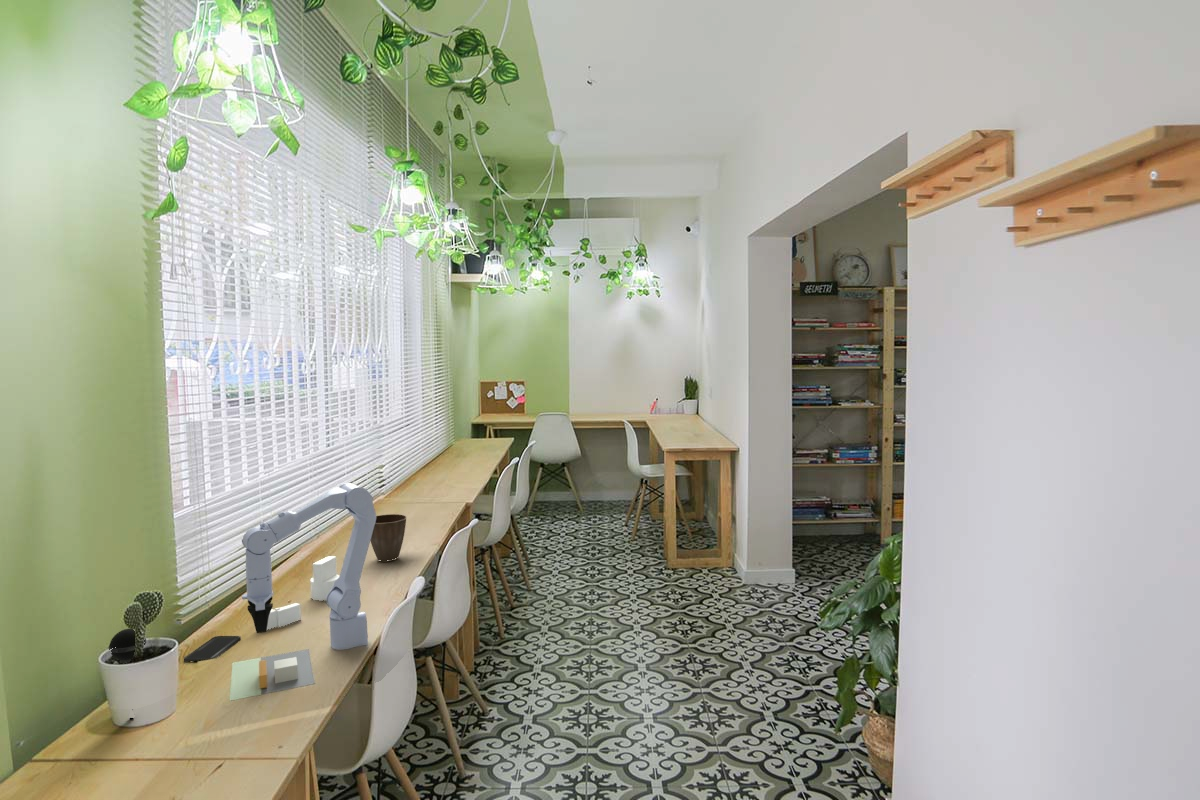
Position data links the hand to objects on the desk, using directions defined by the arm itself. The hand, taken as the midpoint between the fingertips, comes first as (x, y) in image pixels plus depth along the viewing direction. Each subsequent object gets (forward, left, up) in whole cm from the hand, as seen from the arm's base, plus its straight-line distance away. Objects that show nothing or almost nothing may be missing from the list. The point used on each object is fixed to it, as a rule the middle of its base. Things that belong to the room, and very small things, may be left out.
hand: (261, 629), depth 176 cm
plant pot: (-44, -84, -11) cm, 95 cm away
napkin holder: (-4, -31, -11) cm, 33 cm away
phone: (+12, -20, -11) cm, 25 cm away
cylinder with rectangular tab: (-19, -51, -11) cm, 55 cm away
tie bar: (0, +9, -9) cm, 13 cm away
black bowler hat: (+26, +13, -11) cm, 31 cm away
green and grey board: (-2, +5, -10) cm, 12 cm away
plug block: (-5, +9, -9) cm, 14 cm away
